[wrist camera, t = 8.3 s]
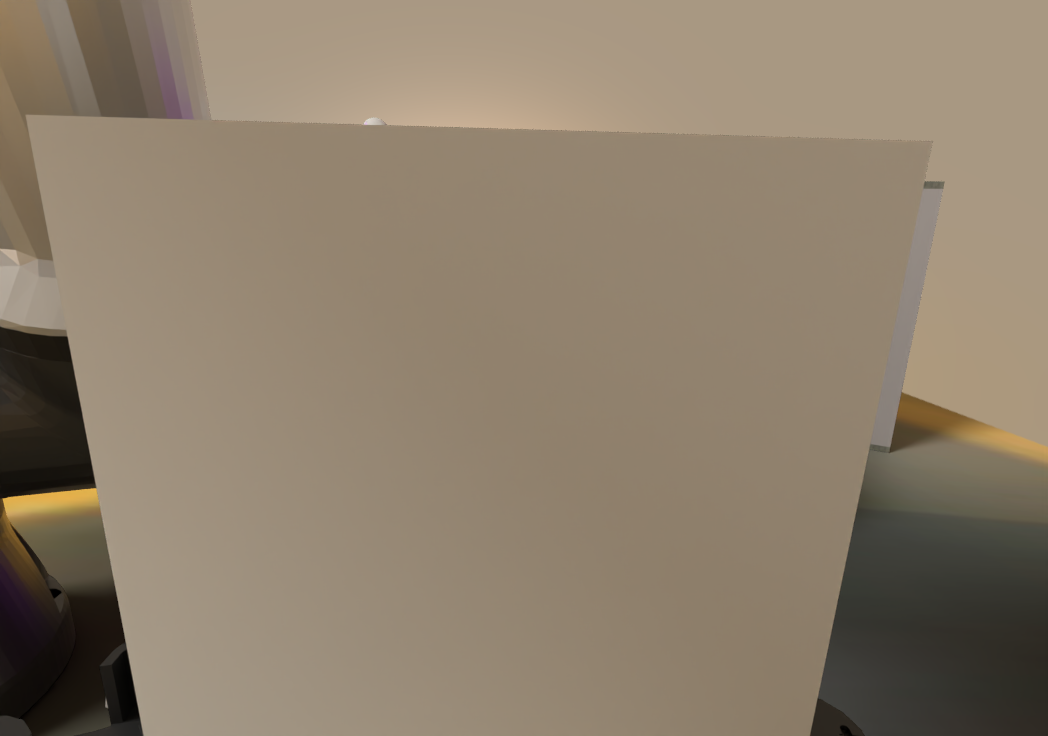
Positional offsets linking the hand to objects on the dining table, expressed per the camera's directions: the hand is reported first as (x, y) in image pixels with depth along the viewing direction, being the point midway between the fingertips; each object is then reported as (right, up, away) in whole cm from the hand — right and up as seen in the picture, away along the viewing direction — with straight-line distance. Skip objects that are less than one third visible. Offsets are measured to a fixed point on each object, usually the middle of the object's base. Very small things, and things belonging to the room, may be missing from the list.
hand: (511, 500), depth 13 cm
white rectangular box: (0, -10, -3) cm, 11 cm away
